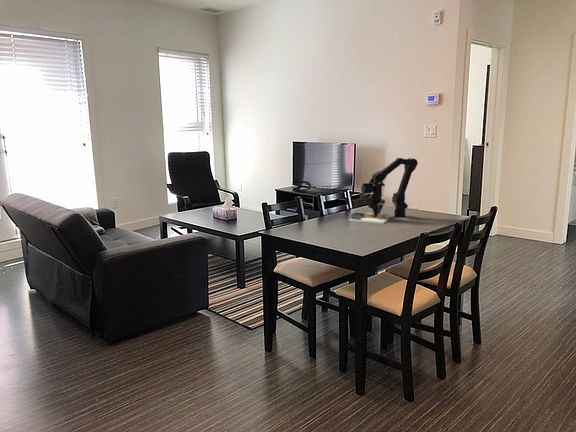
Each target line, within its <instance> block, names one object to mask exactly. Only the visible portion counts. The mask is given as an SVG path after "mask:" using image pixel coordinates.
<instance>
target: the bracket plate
mask: <svg viewBox="0 0 576 432" xmlns="http://www.w3.org/2000/svg"><path fill="white" fill-rule="evenodd" d="M349 222H356V223H358V222H359V223H368V224H378V225H379V224H380V225H385V224H386V222H388V220H387V219H377V218H364V213H363V212H353V213H351V214H350V218H349Z"/></svg>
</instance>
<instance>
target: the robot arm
mask: <svg viewBox="0 0 576 432" xmlns="http://www.w3.org/2000/svg"><path fill="white" fill-rule="evenodd" d="M401 165H404V172H403V174H402V178H401V181H400V183H399V187H398V189H397V192H393V195H392V197H391V202H392V204H393V205H394V207H395V209H394V218H406V217H407V209H408V206H409V205H408V203H406V202H405V200H406V191H407V187H408V184H409V182H410V180H411V177H412V173H413V172H414V171H415V170H416V169H417V166H418V160H417V159H416V158H411V157H409V158H402V157H396V159H395V160H393V161H392V162H391V163H389V164H388V165H387V166H385V167H384V168H383V169H382V170H379V171H377V172H374V173H373V174H372V175H371V178H370V180H369V182H363V183H362V185H361V186H360V187H361V188H360V191H361V194H362V195H363V194H364V195H365V194H371V196H370V197H368V196H365V197H363V202H364V204H366V205H367V204H368V206H367V207H368V208H370V209H372V211H373V212H372V213H374V216H375V217H377V215H378V214H381V212H382V210H383V207H384V206H385V204H386V200H385V199H383V198H382V196H384V195H383V187H385V186H386V184H385V183H384V180H385V179H386V178H387V177H388V175H389V174H391V173H392V172H394V170H396V169H397V168H398V167H400V166H401Z"/></svg>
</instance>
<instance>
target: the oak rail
mask: <svg viewBox="0 0 576 432" xmlns="http://www.w3.org/2000/svg"><path fill="white" fill-rule="evenodd" d="M362 213H364V218H377V219H387V221H388V220H389V219H390V217H391V216H390V215H391V214H388V213H387V214H386V213H380V214H378V215H377V217H375V216H374V212H362Z"/></svg>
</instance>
